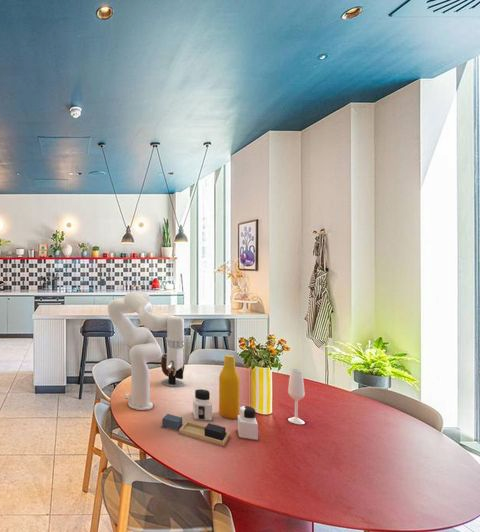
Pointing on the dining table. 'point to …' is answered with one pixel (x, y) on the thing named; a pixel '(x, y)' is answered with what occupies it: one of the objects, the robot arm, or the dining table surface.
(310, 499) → the dining table surface
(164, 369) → the mate gourd
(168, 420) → the blue block
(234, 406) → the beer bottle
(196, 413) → the container
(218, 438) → the pad
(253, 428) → the medicine bottle
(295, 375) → the champagne flute
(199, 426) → the wooden tray
